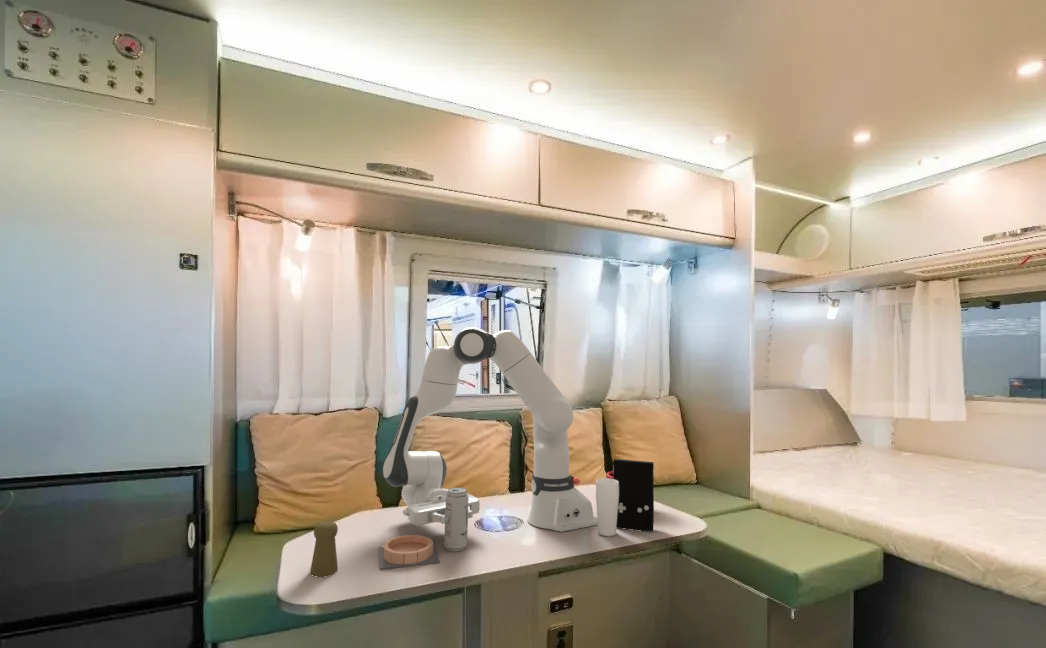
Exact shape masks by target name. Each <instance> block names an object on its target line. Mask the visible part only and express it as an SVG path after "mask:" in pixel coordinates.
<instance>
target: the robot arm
mask: <svg viewBox="0 0 1046 648" xmlns="http://www.w3.org/2000/svg"><path fill="white" fill-rule="evenodd" d="M488 359H489V360H491V361H492V362H493V363H494V364H495V365H496V366H497V368H498V369H499V370H500V372H501V373H502V375H503V376H504V378H505V379H506V380H507V382H508V383H509V384H510V386H511V387H512V388H513V390H514V392H515V393H516V394H517V396H518V397H519V399H521V401H522V403H523V404H524V405H525V406H526V408H527V409H528V410H529V412H530V413H531V415H532V433H533V474H532V477H531V492H532V498H531V504H530V509H529V514H528V518H527V522H528V524H529V525H532V526H533V527H537V528H541V529H546V530H552V531H557V532H561V533H562V532H567V531H572V530H578V529H583V528H588V527H592V526H598V519H597V513H595V512H594V510H593V505H592V502H591V500H590V499H589V498H588V497H587V496H586V495H585V494H584V493H583V492H581V491H580V490H579V489H577V488H576V487H575V485H576V486H579V485H580V484H581V480H580V478H578V477H577V476H575V477H574V476H573V475H571V474H570V447H569V439H568V438H569V437H568V429H569V428H570V427H571V426H572V423H573V421H574V411H573V407H572V405H571V403H570V402H569V401H568V400H567V398H566V397H565V396H564V395H563V393H562V392H561V390H560V389H559V388H558V386H556V384H555V383H554V381H553V380H552V379H551V378H550V376H548V374H547V373H546V372H545V370H544V369H543V367H542V366H541V365H540V364H539V362H538V360H537V359H536V358H535V356H534V355H533V354H532V352H531V351H530V349H529V348H528V347H527V346H526V345H525V343H524V342H523V341H522V340H521V338H519V337H518V336H517V335H516V334H515V333H514V332H513V331H511V330H508V329H505V330H500V331H498V332H496V333H494V334H491V333H489V332H488V331H485V330H483V329H481V328H477V327H474V326H473V327H465V328H464V329H462V330H460V331H459V332H458V333H457V334H456V336H455V338H454V341H453V344H452V345H450V346H444V345H442V346H441V345H440V346H436V347H434V348H432V349H431V350H430V351H429V352H428V354H427V357H426V361H425V363H424V368H423V372H422V377H421V382H420V384H419V385H420V386H419V388H418V390H417V392H416V393H415V394H414V395H413V396H412V397H409V399H408V400H407V401H406V404H405V406H404V409H403V411H402V414H401V415H400V416H401V417H400V420H399V422H398V425H397V429H396V432H395V435H394V436H393V440H392V444H391V447H390V448H389V451H388V453H387V455H386V457H385V459H384V462H383V466H382V476H383V478H384V479H385V482H387V484H389V485H390V486H392V487H393V488H398V487H402V489H401V497H402V499H403V500H402V501H404V504H405V505H406V506H407V508H405V509H404V510H402V514H403V515H404V516H406V517H407V519H408V521H409V523H411V524H412V525H413V526H415V527H417V526H418V527H420V526H422V525H423V526H425V525H429V524H433V523H438V524H442V525H445V523H448V516H446V515H445V508H446V495H447V494H448V490H449V489H450V488H443V486H444V483H445V481H446V477H447V467H448V466H447V463H446V461H445V458H444V456H443V455H442V454H441V453H440V452H438V451H436V450H434V451H433V450H422V451H419V450H418V451H415V450H414V451H411V450H409V448H410V445H411V442H412V439H413V436H414V433H415V430H416V427H417V425H418V424H419V423H420V422H421V421H423V419H424V418H427V417H429V416H432V415H434V414H437V413H440V412H442V411H444V410H446V409H447V408H449V407H450V406H451V405H452V404H453V403H454V401H455V398H456V396H457V390H458V383H459V377H460V372H461V369H462V368H463V367H464V366H465V365H475V364H478V363H481V362H483V361H485V360H488ZM467 494H468V496H469V499H468V519H471V518H473V516H474V514H479V513H480V508H481V503H480V499H479V498H478V497H476V496H474V495H472V494H470V493H468V492H467Z"/></svg>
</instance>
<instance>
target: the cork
mask: <svg viewBox="0 0 1046 648" xmlns="http://www.w3.org/2000/svg"><path fill="white" fill-rule="evenodd" d="M336 523H337V522H334V521H321V522H320V523H317V524H316V526H315V527H314V530H313V537H314V538H315V543H314V548H313V555H312V560H311V566H310V571H309V574H311V575H313V576H317V577H316V578H325V577H324V576H326V577H329V575H330V576H332V574H333V575H335V574H336V573H337V572H338V571H337V570H339V568H338V557H337V555H338V554H337V546H336V545H337V544H336V536H337V534H338V531H339V528H338V524H336ZM335 572H336V573H335ZM311 575H310V576H311ZM313 576H312V577H313Z"/></svg>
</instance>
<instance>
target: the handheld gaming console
mask: <svg viewBox="0 0 1046 648" xmlns="http://www.w3.org/2000/svg"><path fill="white" fill-rule="evenodd" d="M612 467H613V468H612V471H613V479H614V480H617V481H619V504H618V515H617V528H619V529H622V528H625V529H624V530H629V529H633V530H632V531H637V530H641V531H640V532H654V519H655V517H654V516H655V513H654V511H655V509H654V507H655V505H654V504H655V503H654V502H655V500H654V494H655V493H654V492H655V491H654V489H655V487H654V483H655V482H654V477H655V472H654V470H655V469H654V468H655V467H654V462H653V461H644V460H643V461H641V460H633V459H632V460H631V459H630V460H629V459H621V458H620V459H618V458H614V459H613V465H612Z"/></svg>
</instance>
